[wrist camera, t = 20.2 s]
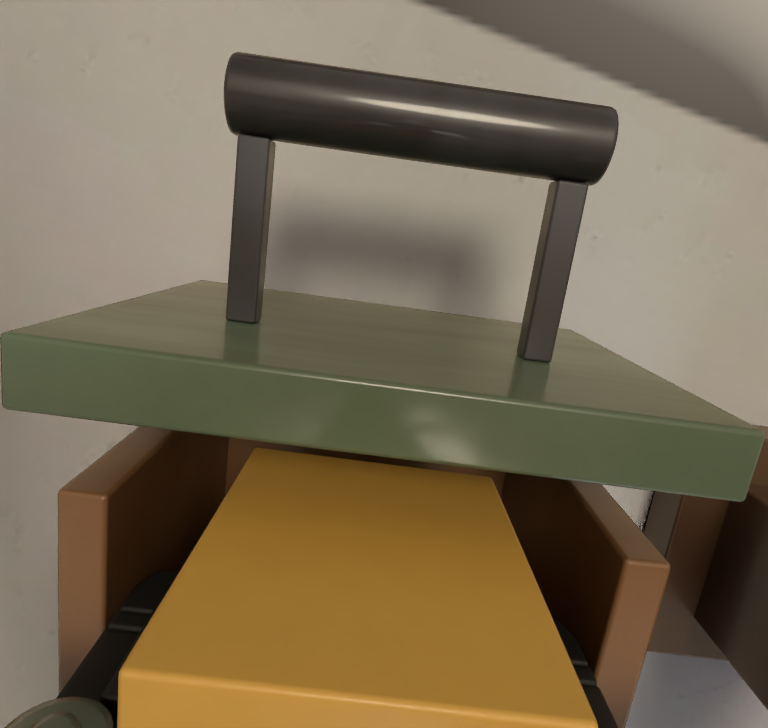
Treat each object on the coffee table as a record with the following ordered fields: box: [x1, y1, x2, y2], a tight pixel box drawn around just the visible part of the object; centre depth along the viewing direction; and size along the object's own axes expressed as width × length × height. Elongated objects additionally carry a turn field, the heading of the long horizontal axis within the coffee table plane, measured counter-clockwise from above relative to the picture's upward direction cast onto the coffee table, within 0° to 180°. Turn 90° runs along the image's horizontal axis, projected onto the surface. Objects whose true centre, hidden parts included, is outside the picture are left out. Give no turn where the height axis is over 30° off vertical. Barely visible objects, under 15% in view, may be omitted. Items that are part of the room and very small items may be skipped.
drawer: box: [0, 52, 765, 728], centre depth 13 cm, size 18×11×9 cm, turn 172°
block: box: [117, 448, 598, 728], centre depth 9 cm, size 5×5×6 cm
